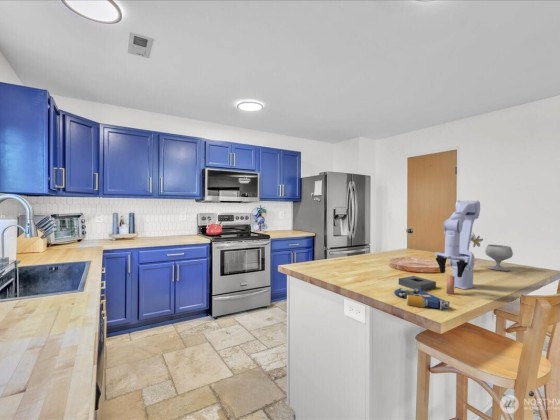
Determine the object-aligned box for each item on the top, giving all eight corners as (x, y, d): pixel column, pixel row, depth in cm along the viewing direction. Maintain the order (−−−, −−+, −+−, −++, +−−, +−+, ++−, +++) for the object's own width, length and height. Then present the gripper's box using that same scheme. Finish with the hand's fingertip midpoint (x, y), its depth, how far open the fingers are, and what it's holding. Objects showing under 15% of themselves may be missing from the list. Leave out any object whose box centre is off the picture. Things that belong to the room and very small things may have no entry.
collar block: (413, 281, 146) (413, 275, 146) (435, 287, 135) (436, 281, 135) (398, 284, 140) (398, 278, 140) (420, 291, 129) (420, 284, 129)
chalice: (516, 270, 176) (517, 246, 176) (506, 272, 169) (507, 248, 169) (490, 265, 189) (491, 243, 188) (480, 267, 182) (481, 245, 181)
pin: (448, 292, 129) (449, 275, 129) (455, 293, 127) (456, 276, 126) (445, 292, 128) (445, 275, 128) (451, 294, 125) (452, 277, 125)
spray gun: (418, 312, 104) (452, 311, 107) (418, 301, 104) (453, 300, 107) (387, 295, 125) (417, 295, 127) (387, 286, 125) (417, 285, 127)
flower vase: (473, 275, 161) (475, 232, 161) (443, 268, 178) (444, 229, 177) (486, 273, 167) (488, 232, 166) (456, 266, 184) (457, 229, 183)
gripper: (431, 243, 131) (430, 272, 131) (464, 248, 118) (462, 279, 119) (440, 242, 134) (439, 270, 135) (472, 247, 122) (471, 278, 122)
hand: (450, 274), depth 127 cm, fingers open, 7 cm apart
